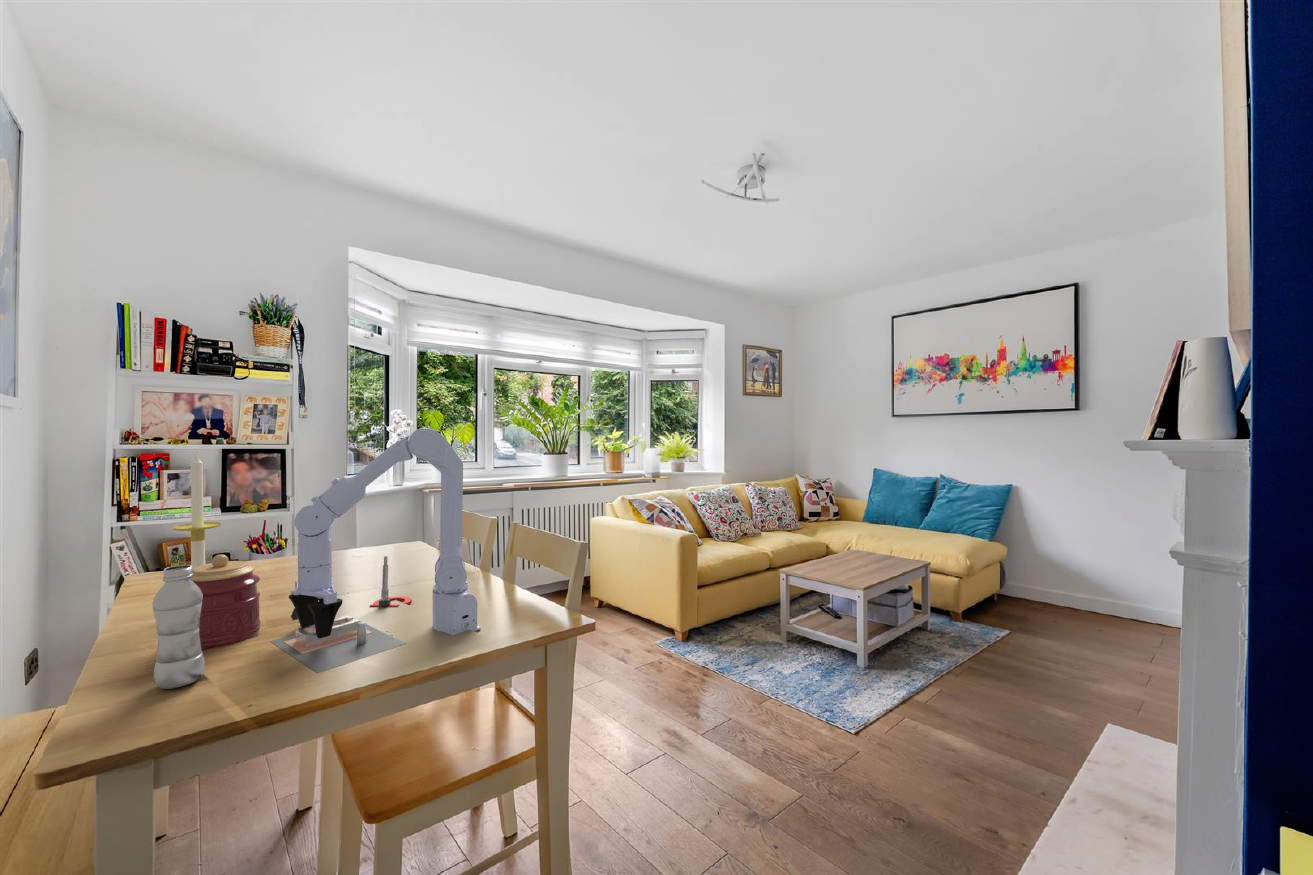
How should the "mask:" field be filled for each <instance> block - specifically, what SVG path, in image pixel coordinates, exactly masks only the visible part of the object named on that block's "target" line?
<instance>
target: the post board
mask: <svg viewBox="0 0 1313 875" xmlns="http://www.w3.org/2000/svg"><path fill="white" fill-rule="evenodd" d="M353 619H356V618H354V617H353ZM270 643H272V644H273V645H274V646H276V647H277V648H278V649H280V650H282V651H283V652H284V653H286V654H288V655H289V656H291V657H292V658H294V659H295V660H296V661H298V662H299V663H301V664H302V665H304V666H305V667H307V668H308V669H310V670H311V671H313V672H315V673H316V674H320V673H323V672H326V671H329V670H331V669H335V668H337V667H340V666H343V665H347V664H350V663H353V662H355V661H360V660H361V659H365V658H367V657H371V656H374V655H376V654H380V653H383V652H385V651H388V650H391V649H394V648H398V647H400V646H403V645H406V644H407V643H406V642H404V641H402V640H400V639H398V638H396V637H393V636H392V635H389V634H387V633H386V632H383V631H381V630H379V629H377V628H375V627H373V626H371V625H369V624H367V621H361V620H360V622H359V623H357V634H354V635H350V636H347V637H344V638H340V639H337V640H333V641H330V642H327V643H323V644H320V645H316V646H313V647H310V648H304V647H303V646H301V645H300V644H298V643H297V642H296V634H293V635H290V636H289V635H288V636H285V637H282V638H278V639H275V640H271V641H270Z"/></svg>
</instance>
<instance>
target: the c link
mask: <svg viewBox="0 0 1313 875" xmlns="http://www.w3.org/2000/svg"><path fill="white" fill-rule="evenodd" d="M360 621H361V620H360V619H357V618H355V619H354V617H353V616H352V615H345V616H341V617H337V618H335V619H334V623H333V627H332V631H331V634H330V636H327V637H323V638H320V639H319V638H317V635H316V630H315V624H314V625H311V626H307V627H303V628H301V627H300V628H296V629H295V635H296V642H297V643H298V644H300V645H301V646H303V647H304V648H310V647H313V646H316V645H320V644H323V643H327V642H330V641H333V640H337V639H340V638H344V637H347V636H350V635H354V634H357V623H359V622H360Z"/></svg>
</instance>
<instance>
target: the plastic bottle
mask: <svg viewBox="0 0 1313 875" xmlns="http://www.w3.org/2000/svg"><path fill="white" fill-rule="evenodd" d="M162 572H163V575H162V582H164V584H163V585H162V586H161V587H160V589H159V590H158V591H157V593H155V595H154V597H153V600H152V602H151V605H152V612H153V616H154V622H155V624H156V634H157V636H156V637H157V649H156V650H157V652H156V661H155V664H154V669H153V670H154V671H153V676H152V677H153V680H154V684H155V686H158V688H159V689H161V690H162V689H163V690H168V689H169V690H170V689H171V690H172V689H175V688H176V689H177V688H181V687H184V686H187V685H190V684H192V683H193V684H194V682H196V681H198V680H199V679H200V678H201V677H202V675H203V673H204V672H205V666H206V661H205V656H204V653H203V651H201V643H200V635H199V626H200V613H201V607H202V600H203V594H202V591H201V589H200V588H199V587H198V586H197V585H196V584H195V583H194V582H193V581H192V580H191V577H193V573H192V565H191V564H181V565H180V564H179V565H174V566H168V567H166V568H164V569H163V571H162Z"/></svg>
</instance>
